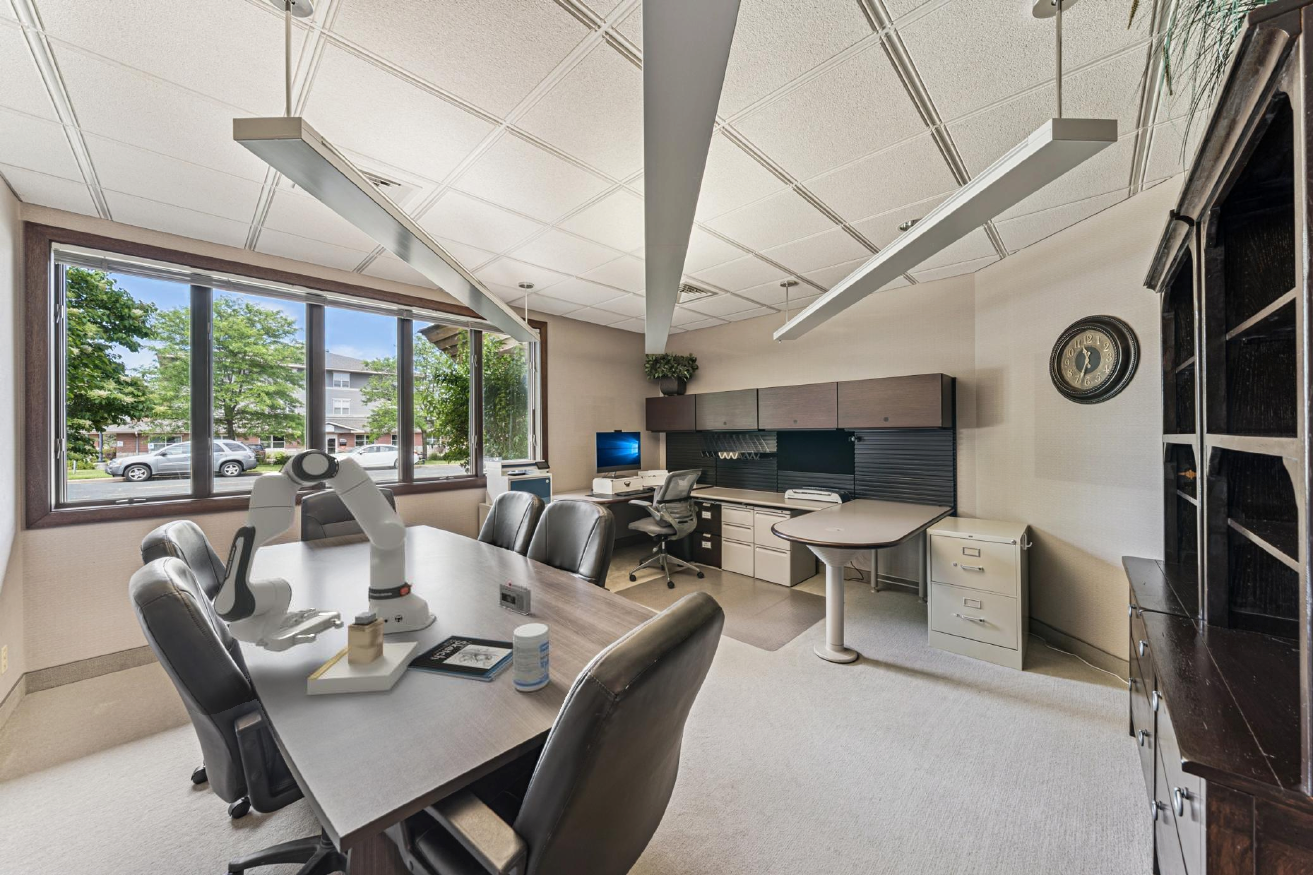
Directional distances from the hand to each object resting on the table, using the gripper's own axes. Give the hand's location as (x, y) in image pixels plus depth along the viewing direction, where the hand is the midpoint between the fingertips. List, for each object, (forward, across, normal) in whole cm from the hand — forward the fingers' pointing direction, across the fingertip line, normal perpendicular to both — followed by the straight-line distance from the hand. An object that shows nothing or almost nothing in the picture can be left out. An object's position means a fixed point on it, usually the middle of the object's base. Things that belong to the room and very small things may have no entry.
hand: (328, 631), depth 134 cm
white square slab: (+13, 0, +11) cm, 17 cm away
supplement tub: (+61, +1, +11) cm, 62 cm away
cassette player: (+32, +52, +11) cm, 62 cm away
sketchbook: (+36, +13, +12) cm, 40 cm away
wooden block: (+12, 0, +7) cm, 14 cm away
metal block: (+12, 0, -2) cm, 12 cm away
